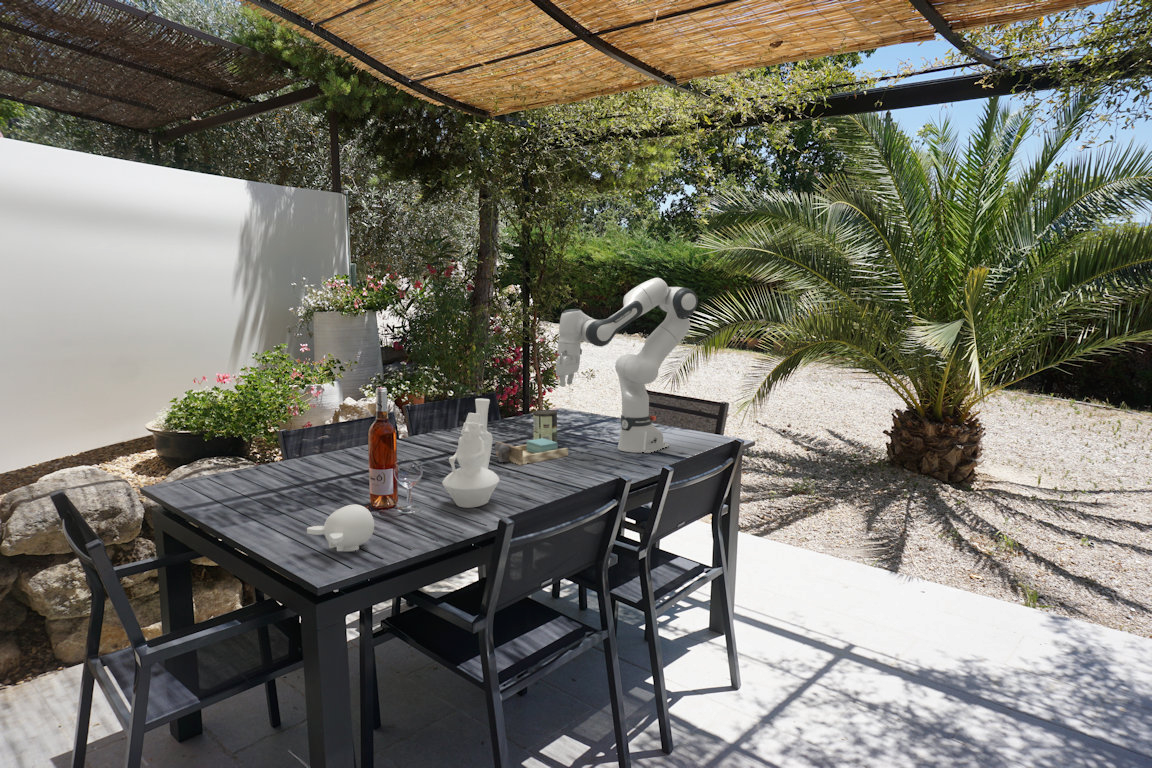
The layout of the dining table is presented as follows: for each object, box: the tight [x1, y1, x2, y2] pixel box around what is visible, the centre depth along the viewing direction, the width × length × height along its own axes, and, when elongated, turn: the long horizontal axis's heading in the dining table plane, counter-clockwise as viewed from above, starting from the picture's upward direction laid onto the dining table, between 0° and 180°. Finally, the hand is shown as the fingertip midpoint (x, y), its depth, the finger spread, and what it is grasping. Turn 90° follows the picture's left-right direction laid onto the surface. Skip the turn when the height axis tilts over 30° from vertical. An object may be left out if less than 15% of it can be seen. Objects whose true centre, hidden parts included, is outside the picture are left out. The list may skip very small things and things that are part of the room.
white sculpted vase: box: [441, 397, 500, 509], centre depth 224 cm, size 18×22×32 cm
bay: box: [494, 441, 569, 466], centre depth 282 cm, size 29×16×7 cm, turn 129°
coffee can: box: [532, 409, 558, 443], centre depth 305 cm, size 10×10×14 cm
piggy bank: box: [306, 504, 375, 552], centre depth 186 cm, size 12×12×15 cm
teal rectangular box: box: [526, 438, 559, 453], centre depth 287 cm, size 8×10×4 cm
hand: (566, 385), depth 282 cm, fingers open, 8 cm apart
